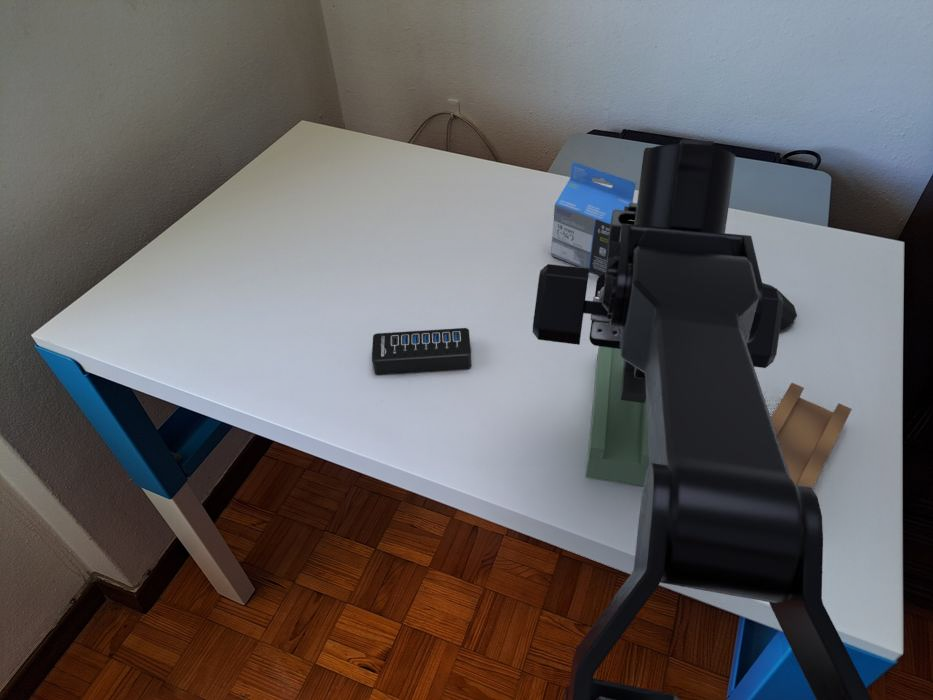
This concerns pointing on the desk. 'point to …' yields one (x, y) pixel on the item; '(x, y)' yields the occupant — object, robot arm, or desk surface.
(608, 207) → the blue product box
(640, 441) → the high rail
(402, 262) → the desk surface
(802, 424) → the low rail
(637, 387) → the black hanger
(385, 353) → the multiport hub
